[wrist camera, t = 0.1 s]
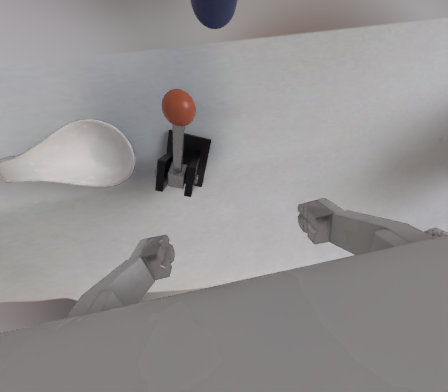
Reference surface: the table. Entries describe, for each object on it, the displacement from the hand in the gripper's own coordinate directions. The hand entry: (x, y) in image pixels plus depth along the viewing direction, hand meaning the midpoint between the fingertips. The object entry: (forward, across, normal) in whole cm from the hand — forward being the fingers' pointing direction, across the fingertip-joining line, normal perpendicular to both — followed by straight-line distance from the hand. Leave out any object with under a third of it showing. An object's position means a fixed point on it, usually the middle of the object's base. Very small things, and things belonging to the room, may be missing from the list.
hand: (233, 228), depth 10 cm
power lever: (+14, +4, -5) cm, 15 cm away
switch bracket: (+26, +6, 0) cm, 27 cm away
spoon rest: (+26, +27, -5) cm, 38 cm away
